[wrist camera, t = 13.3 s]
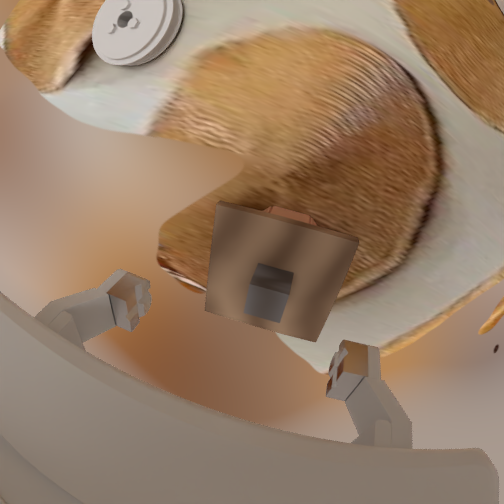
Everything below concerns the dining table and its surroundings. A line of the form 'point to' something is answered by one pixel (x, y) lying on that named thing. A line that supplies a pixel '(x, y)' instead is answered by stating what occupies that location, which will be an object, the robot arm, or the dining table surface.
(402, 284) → the dining table surface
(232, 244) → the cover
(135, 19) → the lid
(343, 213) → the dining table surface
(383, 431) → the robot arm
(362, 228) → the dining table surface
